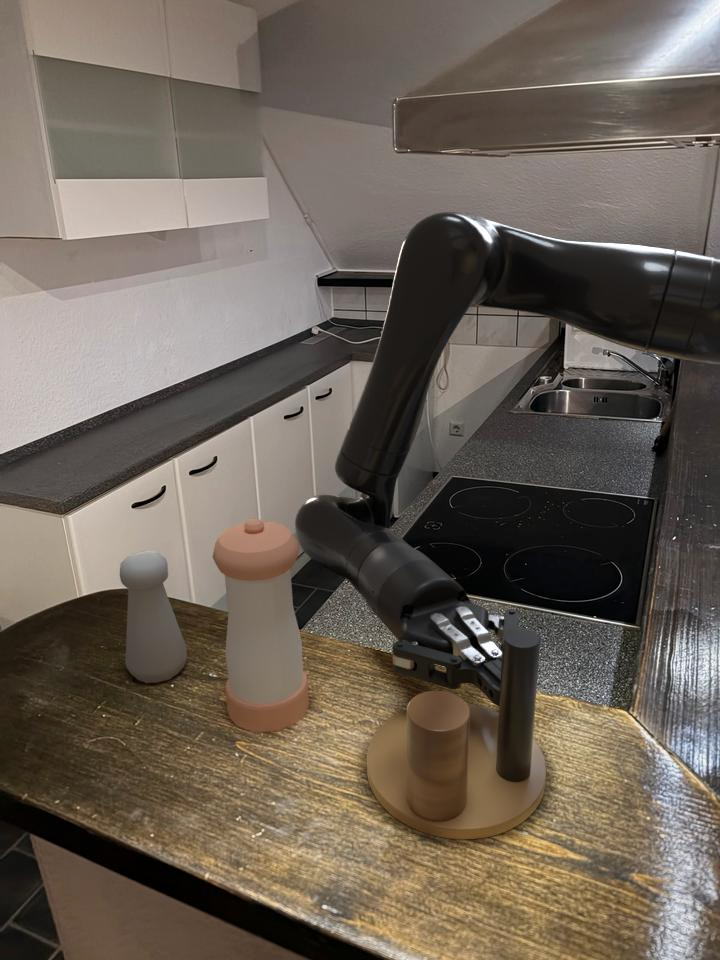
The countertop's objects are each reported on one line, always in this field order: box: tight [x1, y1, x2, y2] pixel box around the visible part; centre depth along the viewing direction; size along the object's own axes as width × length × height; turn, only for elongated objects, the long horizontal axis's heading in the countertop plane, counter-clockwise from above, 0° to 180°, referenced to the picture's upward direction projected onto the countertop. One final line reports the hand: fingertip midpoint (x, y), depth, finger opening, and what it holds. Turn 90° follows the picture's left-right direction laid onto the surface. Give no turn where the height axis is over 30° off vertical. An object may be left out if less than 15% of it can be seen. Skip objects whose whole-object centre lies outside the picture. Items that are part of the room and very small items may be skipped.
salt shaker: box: [119, 550, 188, 684], centre depth 72 cm, size 6×6×13 cm
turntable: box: [366, 627, 547, 840], centre depth 58 cm, size 14×14×13 cm
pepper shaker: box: [212, 518, 310, 733], centre depth 65 cm, size 7×7×19 cm
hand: (517, 698), depth 58 cm, fingers closed
